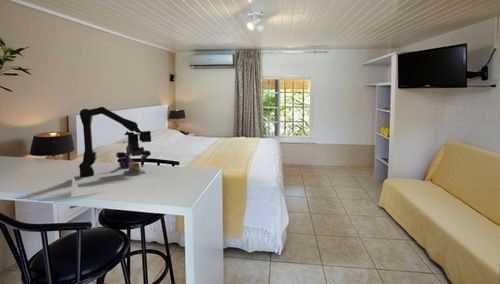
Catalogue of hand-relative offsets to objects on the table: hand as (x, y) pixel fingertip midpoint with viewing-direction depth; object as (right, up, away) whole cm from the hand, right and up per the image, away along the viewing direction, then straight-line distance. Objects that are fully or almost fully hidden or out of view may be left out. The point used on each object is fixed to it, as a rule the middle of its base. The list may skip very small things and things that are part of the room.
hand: (134, 168), depth 178 cm
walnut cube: (0, -2, 0) cm, 2 cm away
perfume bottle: (-11, -2, +16) cm, 19 cm away
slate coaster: (0, -3, 0) cm, 3 cm away
